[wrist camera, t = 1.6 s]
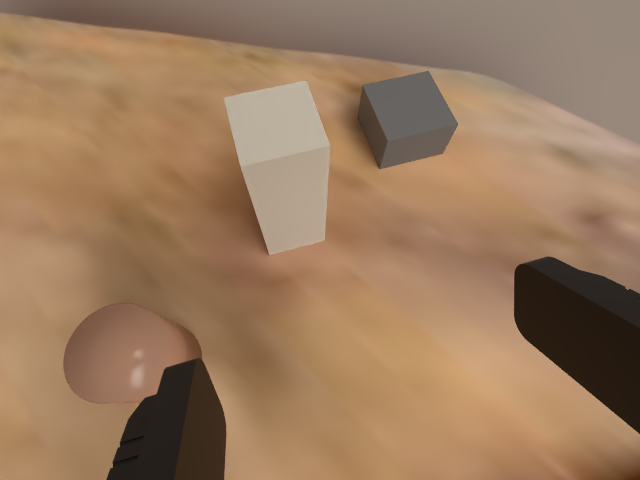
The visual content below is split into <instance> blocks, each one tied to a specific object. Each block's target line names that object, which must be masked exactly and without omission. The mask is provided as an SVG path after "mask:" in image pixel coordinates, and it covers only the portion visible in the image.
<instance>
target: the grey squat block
mask: <svg viewBox="0 0 640 480" xmlns="http://www.w3.org/2000/svg"><path fill="white" fill-rule="evenodd" d="M358 119H359V121H360V124H361V126H362V129H363V131H364V133H365V136H366V138H367V140H368V143H369V145H370V147H371V150H372V152H373V154H374V157H375V159H376V161H377V164H378V166H379V168H380V169H383V168H387V167H391V166H395V165H399V164H403V163H407V162H411V161H415V160H419V159H423V158H427V157H431V156H435V155H439V154H443V152H444V150H445V148H446V146H447V145H448V143H449V141H450V139H451V137H452V135H453V133H454V131H455V129H456V128H457V126H458V123H457V121H456V119H455V118H454V116H453V114H452V112H451V110H450V109H449V107H448V105H447V103H446V102H445V100H444V98H443V96H442V94H441V93H440V91H439V89H438V87H437V85H436V84H435V82H434V80H433V78H432V76H431V75H430V73H429V71H426V72H422V73H417V74H412V75H408V76H403V77H399V78H394V79H389V80H385V81H380V82H376V83H371V84H366V85H363V86H362V93H361V99H360V106H359V113H358Z"/></svg>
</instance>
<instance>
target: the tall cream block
mask: <svg viewBox="0 0 640 480" xmlns="http://www.w3.org/2000/svg"><path fill="white" fill-rule="evenodd" d="M224 101H225V105H226V109H227V114H228V118H229V122H230V126H231V130H232V134H233V138H234V142H235V147H236V151H237V155H238V159H239V163H240V167H241V170H242V173H243V176H244V179H245V182H246V185H247V188H248V191H249V194H250V197H251V200H252V203H253V207H254V210H255V213H256V216H257V219H258V222H259V225H260V228H261V231H262V234H263V237H264V240H265V243H266V246H267V249H268V252H269V255H273V254H276V253H280V252H284V251H288V250H292V249H295V248H299V247H303V246H307V245H311V244H314V243H318V242H322V241H325V225H326V208H327V191H328V174H329V157H330V144H329V141H328V139H327V136H326V133H325V130H324V128H323V125H322V122H321V120H320V117H319V114H318V111H317V109H316V106H315V103H314V100H313V98H312V95H311V92H310V90H309V87H308V84H307V81H301V82H296V83H291V84H286V85H281V86H277V87H272V88H267V89H262V90H257V91H252V92H247V93H243V94H238V95H233V96H228V97H224Z"/></svg>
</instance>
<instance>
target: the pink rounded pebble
mask: <svg viewBox="0 0 640 480" xmlns="http://www.w3.org/2000/svg"><path fill="white" fill-rule="evenodd" d="M196 358H200V359H202V353H201V348H200V345H199V342H198V341H197V339H196V338H195V336H194V335H193V334H192V333H191V332H189V331H188V330H186V329H184V328H182V327H181V326H179V325H177V324H175V323H173V322H171V321H169V320H167V319H165V318H163V317H161V316H159V315H157V314H155V313H153V312H151V311H149V310H147V309H145V308H143V307H141V306H138V305H135V304H130V303H117V304H112V305H109V306H106V307H103V308H101V309H99V310H97V311H95V312H94V313H92V314H91V315H89V316H88V317H87V318H86V319H85V320H84V321H83V322H82V323H81V324H80V325H79V326H78V327H77V328H76V330H75V331H74V333H73V334H72V336H71V338H70V340H69V342H68V344H67V347H66V350H65V355H64V373H65V377H66V380H67V383H68V384H69V386H70V388H71V389H72V390H73V391H74V393H76V394H77V395H78V396H79V397H81V398H83V399H84V400H87V401H89V402H93V403H102V404H106V403H130V402H142V401H143V399H144V398H145V397H149V396H152V395H155V394H157V391H158V388H159V384H160V381H161V378H162V374H163V371H164V369H165V368H166V367H169V366H172V365H176V364H179V363H183V362H186V361H189V360H193V359H196Z"/></svg>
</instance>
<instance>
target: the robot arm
mask: <svg viewBox="0 0 640 480" xmlns="http://www.w3.org/2000/svg"><path fill="white" fill-rule="evenodd" d="M514 318H515V322H516V325H517V327H518V329H519V331H520V333H521V334H522V336H523V337H524V338H525V339H526V340H527V341H528V342H530V343H531V344H532V345H533V346H534V347H536V348H537V349H538V350H539V351H540V352H542V353H543V354H544V355H545V356H546V357H548V358H549V359H550V360H551V361H552V362H554V363H555V364H556V365H557V366H558V367H560V368H561V369H562V370H563V371H565V372H566V373H567V374H568V375H569V376H571V377H572V378H573V379H574V380H575V381H577V382H578V383H579V384H580V385H581V386H583V387H584V388H585V389H586V390H587V391H589V392H590V393H591V394H592V395H593V396H595V397H596V398H597V399H598V400H599V401H601V402H602V403H603V404H604V405H605V406H607V407H608V408H609V409H610V410H611V411H613V412H614V413H615V414H616V415H617V416H619V417H620V418H621V419H622V420H624V421H625V422H626V423H627V424H628V425H630V426H631V427H632V428H633V429H634V430H636V431H637V432H638V433H639V434H640V294H639V293H637V292H635V291H633V290H631V289H629V290H627V289H626V288H625V287H624V286H622V285H620V284H618V283H616V282H614V281H612V280H610V279H608V278H606V277H604V276H600V275H597V274H593V273H589V272H585V271H581V270H578V269H576V268H574V267H572V266H570V265H568V264H566V263H564V262H562V261H560V260H558V259H556V258H553V257H544V258H541V259H537V260H534V261H530V262H527V263H524V264H520V265H518V266H517V267H516V269H515V275H514ZM225 449H226V423H225V416H224V412H223V408H222V405H221V403H220V400H219V398H218V396H217V393H216V391H215V388H214V386H213V384H212V381H211V379H210V376H209V374H208V372H207V369H206V367H205V364H204V362H203V361H202V359H200V358H196V359H193V360H189V361H186V362H183V363H179V364H176V365H172V366H169V367H166V368H165V369H164V371H163V374H162V378H161V381H160V384H159V388H158V391H157V394H155V395H152V396H149V397H145V398H144V399H143V401H142V402H141V403H140V405H139V406H138V407H137V409H136V410H135V411H134V413H133V414H132V415H131V417H130V418H129V419H128V422H127V424H126V427H125V430H124V433H123V435H122V438H121V441H120V447H119V448H118V449H117V452H116V455H115V458H114V460H113V468H111V469H110V471H109V474H108V477H107V480H224V469H225Z"/></svg>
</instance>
